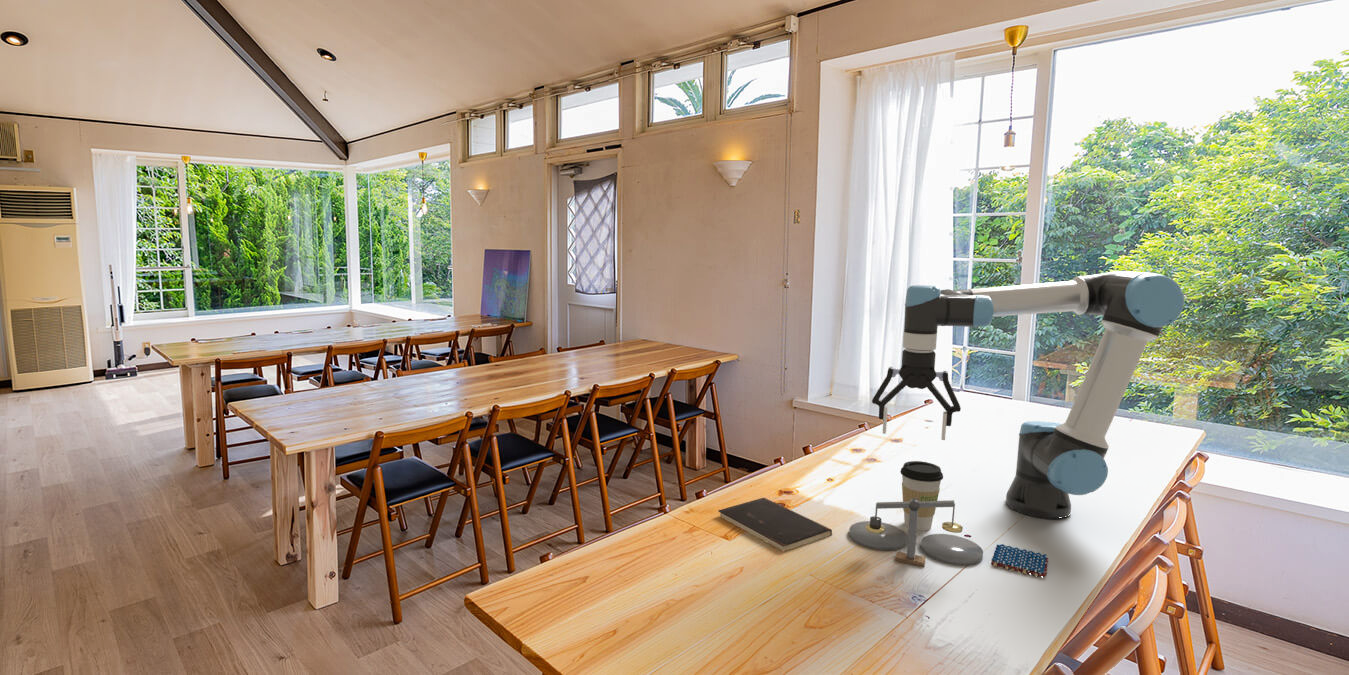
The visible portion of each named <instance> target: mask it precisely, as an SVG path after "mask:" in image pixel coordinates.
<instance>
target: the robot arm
mask: <svg viewBox="0 0 1349 675" xmlns="http://www.w3.org/2000/svg"><path fill="white" fill-rule="evenodd" d="M1184 295H1185V294H1184V292H1183V291H1182V289H1181V286H1180V285H1179V284H1178V283H1177V282H1176V281H1175V280H1174V279H1172V278H1171V277H1170V276H1167V275H1163V274H1159V273H1155V272H1151V271H1150V272H1149V271H1142V272H1141V271H1131V270H1116V271H1109V272H1104V273H1098V274H1089V275H1082V276H1081V275H1080V276H1079V275H1078V276H1075V277H1073V278H1072V279H1071V280H1069V281H1068V280H1067V281H1056V282H1044V283H1043V282H1042V283H1032V284H1031V283H1030V284H1029V283H1028V284H1017V285H1007V286H1005V285H1004V286H995V287H994V286H991V287H989V286H988V287H981V288H980V287H978V288H969V289H956V290H955V289H949V288H947V289H941V288H940V287H939V286H937V285H925V284H924V285H922V284H921V285H919V284H917V285H910V286H909V287H907V290H906V297H905V303H904V324H903V326H904V328H903V335H902V348H903V350H902V351H901V352H902V353H901V354H902V355H901V367H900V369H899V368H894V367H893V366H889V367H888V369H887V372H886V376H885V378H884V380H883V381H882V382H881V384H880V386H879V387H878V390H877V391H876V392H875V394H874V396H873V397H872V400H871V404H874V405H877V406H878V419H879V420H883V421H882V434H883V435H886V434H887V427H888V426H887V425H888V410H889V408H888V407H889V405H887V404H888V403H889V402H891V400H892V399H893V398H895V397H896V396H897V395H898V394H899V393H900V392H901V391H902V390H903V389H904V388H906V387H908V388H909V389H921V390H924V389H928V391H929V392H931V394H932V395H933V396H934V398H935V399H936V400H937V402H939V404H940V405H941V406H942V407H943V409H944V410H943V411H942V412H943V413H942V425H941V440H942V441H945V440H946V432H947V431H946V429H947V427H951V426H952V421H953V420H952V419H953V414H954V413H959V412H961V408H962V407H961V405H960V403H959V401H958V398H957V396H956V394H955V392H954V390H953V387H952V386H951V383H950V381H949V372H948V371H947V370H943V371H936V370H935V368H936V367H935V366H936V365H935V364H936V352H935V350H936V349H937V336H938V328H939V327H945V326H946V327H967V328H970V327H971V328H979V327H981V328H982V327H983V328H984V327H985V328H986V327H988V326H989V325H990V324H991V322H992V321H993V318H994V317H1007V316H1021V315H1036V314H1037V315H1038V314H1050V313H1051V314H1052V313H1054V314H1055V313H1067V312H1073V313H1074V314H1076V315H1078V316H1081V315H1083V316H1084V315H1096V316H1098V315H1099V316H1102V319H1101V324H1102V325H1103V328H1104V333H1103V334H1102V336H1101V339H1100V341H1099V344H1098V346H1097V349H1096V351H1095V353H1094V356H1093V358H1092V360H1091V363H1090V365H1089V367H1088V370H1087V371H1086V373H1085V376H1084V378H1083V381H1082V383H1081V386H1080V387H1079V390H1078V393H1077V395H1076V397H1075V400H1074V402H1073V404H1072V407H1071V409H1070V411H1069V413H1068V416H1067V418H1066V419H1065V420H1066V421H1065V422H1064V423H1060V422H1052V421H1051V422H1050V421H1039V420H1038V421H1037V420H1035V421H1025V422H1023V423H1021V426H1020V430H1019V433H1018V446H1017V447H1018V448H1017V460H1016V470H1015V476H1014V478H1013V480H1012V481H1011V485H1009V488H1008V490H1007V492H1006V496H1005V503H1006V505H1007V506H1008V507H1009V508H1010V509H1012V510H1014V511H1016V512H1017V513H1018V512H1019V513H1021V514H1023V513H1024V515H1027V516H1031V517H1034V516H1035V517H1036V518H1040V517H1042V518H1041V519H1047V518H1059V517H1065V516H1068V515H1069V514H1070V513H1071V512H1072V504H1071V503H1072V502H1071V500H1070V495H1071V496H1072V495H1073V496H1083V495H1088V494H1090V493H1093V492H1095V491H1097V490H1098V489H1099V488H1101V487H1102V486H1103V485H1104V483H1105V482H1106V480H1107V478H1108V475H1109V468H1108V464H1107V462H1106V460H1105V457H1106V454H1107V453H1108V451H1109V446H1110V445H1109V444H1108V442H1107V440H1106V436H1107V433H1108V431H1109V430H1110V429H1109V428H1110V427H1111V424H1112V422H1113V420H1114V418H1115V415H1116V413H1117V411H1118V409H1119V406H1120V404H1121V403H1122V400H1123V398H1124V395H1125V393H1126V390H1127V388H1128V387H1129V384H1130V382H1131V379H1132V377H1133V375H1134V373H1135V370H1136V368H1137V366H1138V363H1139V362H1140V359H1141V357H1142V355H1143V353H1144V350H1145V348H1146V346H1147V344H1148V343H1149V342H1151V341H1154V340H1157V339H1158V338H1159V336H1160V334H1161V332H1162V330H1163V327H1166V326H1168V325H1170V324H1171V323H1174V322H1175V321H1176V320H1177V319H1178V318H1179V317H1180V316H1181V314H1182V312H1183V310H1184V306H1185V297H1184ZM897 375H899V377H900V378H901V379H902V380H901V381H899V383H898V384H897V385H896V386H895V387H894V388H892V389H891V391H889V393H888V394H887V395H885V396H884V397H883V398H882V399H880V398H881V397H882V395H883V393H884V392H885V390H886V388H887V387H888V385H889V384H890V383H891V380H892V378H895V377H896V376H897ZM936 378H938V379H939V381H940V382H943V386H944V389H945V390H946V392H947V394H948V397H949V400H950V401H951V404H952V405H950V404H949V402H948V401H947V400H946V399H945V397H944V396H943V395H942V393H941V392H940V391H939V390H938V388H937V386H935V384H934V383H933V381H935V379H936ZM1070 515H1071V514H1070ZM1070 515H1069V516H1070ZM1069 516H1068V517H1069Z"/></svg>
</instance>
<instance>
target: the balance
mask: <svg viewBox="0 0 1349 675" xmlns="http://www.w3.org/2000/svg"><path fill="white" fill-rule="evenodd" d="M955 506H956V503H955V499H953V500H951V499H950V500H937V501H919V500H918V499H916V498H913V499H911V501H910V502H903V501H883V502H882V501H880V502H879V501H878V502H876V503H875V515H874V516H870V517H869V521H870V524H867V525H866V530H867V531H868V532H871V533H875V534H881V533H884V531H885V528H884V527H883V526H882V525H881V522H882V518H881V517H879V516H878V510H879V509H881V510H882V509H883V510H885V509H887V510H888V509H903V508H910V516H909V528H908V530H907V531H908V534H907V544H906V552H903V551H898V550H897V551H896V554H895V556H894V557H895V560H894V561H895V562H897V563H902V564H906V565H912V566H916V567H922V568H924V567H925V565H926V556H923V555H919V554H916V544H917V533H918V532H917V531H918V530H917V521H918V509H919V508H932V507H936V508H952V516H951V517H952V519H951V521H945V522H942V524H941V529H943V530H944V531H946V532H949V533H953V534H954V533H955V534H958V533H962V532H963V529H964V528H963V526H962V525H961V524H959V523H956V522H954V518H955Z"/></svg>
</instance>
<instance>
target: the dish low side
mask: <svg viewBox="0 0 1349 675" xmlns="http://www.w3.org/2000/svg"><path fill="white" fill-rule="evenodd" d="M867 524H870V520H864V521H863V520H862V521H857V522H856V523H853V524H852V525H851V526H850V527H849V537H850V539H851V540H852V541H853V542H855V543H856V544H858V545H860V546H862V547H864V548H865V547H866V548H869V549H873V550H877V551H896V550H897V551H898V550H900V549H902V548H904V547H907V543H908V534H907V533H906V531H904V530H903V529H901V528H900V527H898V526H895V525H893V524H890V523H887V522H882V521H881V525H882V526H883V527H884V528H885V531H884V533H881V534H875V533H871V532H868V531H867V530H866V525H867Z"/></svg>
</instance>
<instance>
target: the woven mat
mask: <svg viewBox="0 0 1349 675" xmlns="http://www.w3.org/2000/svg"><path fill="white" fill-rule="evenodd" d="M1048 562H1049V558H1048V557H1047V554H1043V553H1041V552H1036V551H1033V550H1029V549H1028V550H1027V549H1025V548H1023V549H1021V548H1019V547H1017V546H1016V547H1014V546H1013V547H1012V546H1011V545H1005V544H1004V543H1003V544H1001V543H1000V544H996V547H995V549H994V552H993V555H992V558H991V562H990V564H991V565H992V566H993V567H994V568H995V567H999V568H1000V569H1003V568H1004V567H1005V568H1004V569H1005V570H1007V571H1009V570H1008V569H1009V568H1010V571H1011V570H1012V572H1014V570H1015V571H1016V573H1017V572H1019V573H1018V574H1021V573H1022V574H1023V573H1024V574H1023V575H1029V573H1032V575H1035V576H1038V577H1039V576H1040V577H1041V576H1044V577H1046V576H1047V574H1048V573H1047V571H1048V565H1047V564H1048ZM1026 570H1027V571H1026ZM1026 573H1027V574H1026ZM1035 576H1034V577H1035Z"/></svg>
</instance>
